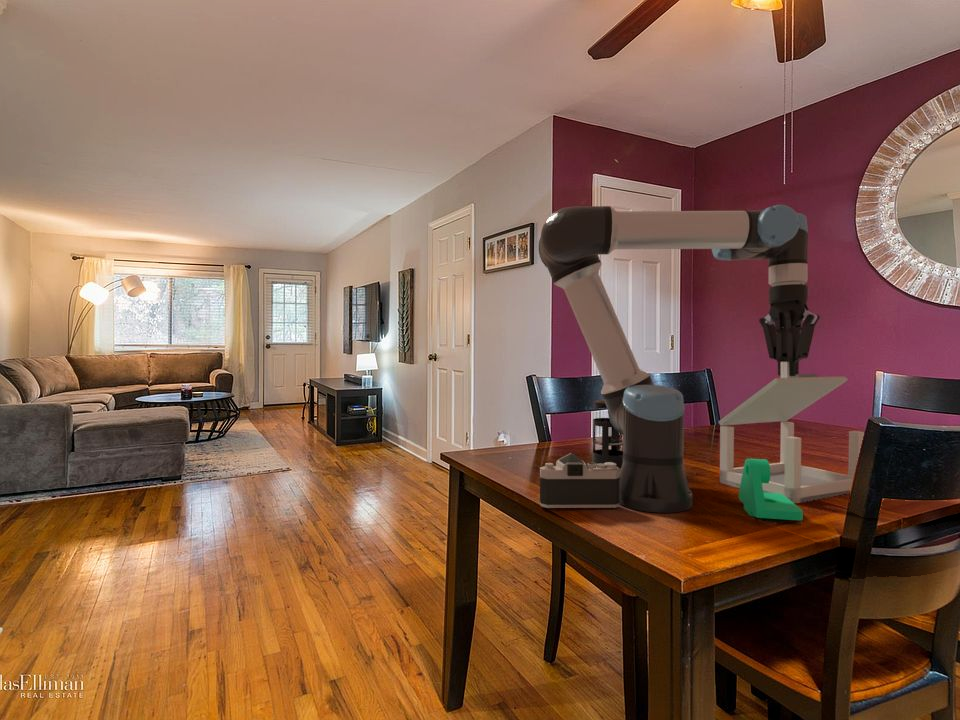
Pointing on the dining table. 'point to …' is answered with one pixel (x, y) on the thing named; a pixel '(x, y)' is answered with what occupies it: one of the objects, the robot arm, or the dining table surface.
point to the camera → (579, 484)
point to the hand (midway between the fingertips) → (788, 390)
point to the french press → (606, 440)
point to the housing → (792, 468)
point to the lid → (782, 399)
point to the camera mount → (764, 494)
